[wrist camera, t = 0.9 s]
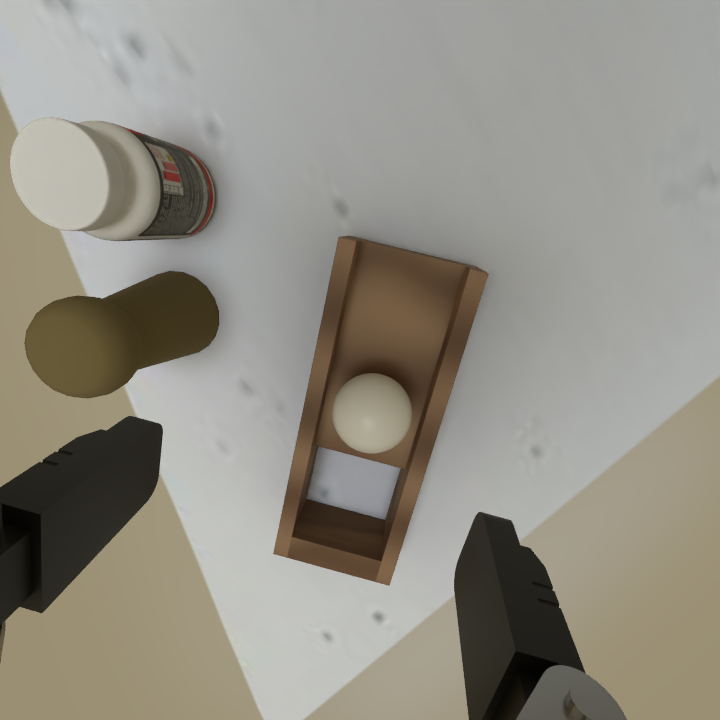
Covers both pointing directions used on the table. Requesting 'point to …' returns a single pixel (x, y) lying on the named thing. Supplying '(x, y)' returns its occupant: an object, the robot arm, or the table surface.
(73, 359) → the pepper mill
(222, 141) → the table surface
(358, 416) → the ball
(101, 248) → the table surface
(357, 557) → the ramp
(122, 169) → the pill bottle
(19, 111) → the table surface
